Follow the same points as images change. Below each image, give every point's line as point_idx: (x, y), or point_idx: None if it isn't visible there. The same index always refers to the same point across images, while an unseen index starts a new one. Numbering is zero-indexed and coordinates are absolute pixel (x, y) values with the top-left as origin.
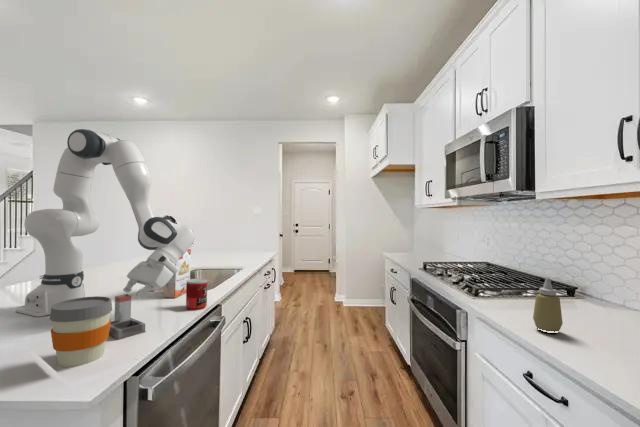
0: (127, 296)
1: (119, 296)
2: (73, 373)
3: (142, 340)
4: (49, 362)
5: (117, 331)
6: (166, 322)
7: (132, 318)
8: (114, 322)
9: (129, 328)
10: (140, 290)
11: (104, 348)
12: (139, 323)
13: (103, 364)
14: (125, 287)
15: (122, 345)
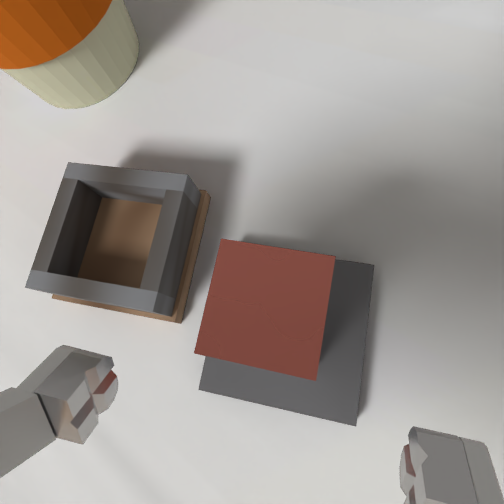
0: (203, 314)
1: (279, 272)
2: None
3: (33, 252)
4: (171, 10)
5: (82, 165)
6: (100, 496)
7: (313, 415)
8: (337, 307)
9: (53, 209)
10: (34, 390)
11: (21, 83)
12: (56, 274)
13: (9, 85)
14: (475, 477)
15: None
